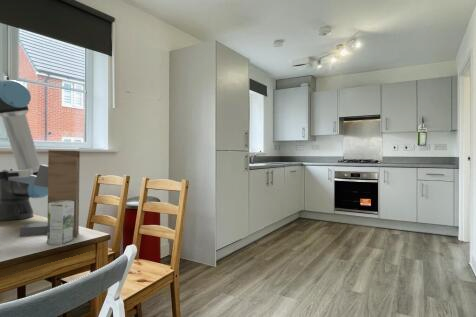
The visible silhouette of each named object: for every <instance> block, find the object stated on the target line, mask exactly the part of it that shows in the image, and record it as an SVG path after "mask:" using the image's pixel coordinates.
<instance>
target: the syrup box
mask: <svg viewBox="0 0 476 317" xmlns="http://www.w3.org/2000/svg"><path fill="white" fill-rule="evenodd" d="M47 223H48V236H47V237H46V238H47V242H46V243H47V244H48V245H64V244H67V243H69V242H72V241H74V238H73V229H74V201H70V200H60V201H55V202H50V203H49V204H48V203H47Z"/></svg>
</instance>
